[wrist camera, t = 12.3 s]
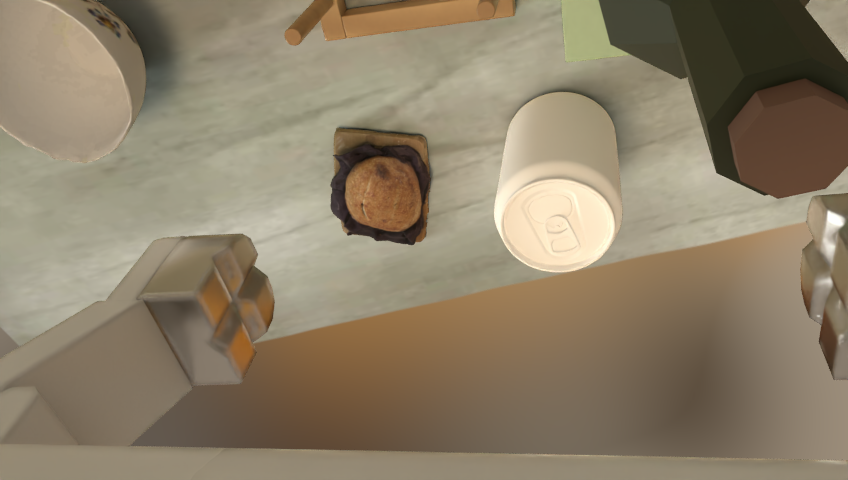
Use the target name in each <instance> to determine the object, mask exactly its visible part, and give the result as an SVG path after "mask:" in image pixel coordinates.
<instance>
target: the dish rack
mask: <svg viewBox="0 0 848 480" xmlns="http://www.w3.org/2000/svg"><path fill="white" fill-rule="evenodd" d="M515 10H516V3H515V0H408V1H402V2H395V3H388V4H381V5H374V6H367V7H360V8H353V9H347V10H346V6H345V2H344V0H314V1H313V3H312V4H311V5H310V6H309V7H308V8H307V9H306V10H305V11H304V12H303V13H302V14H301V15H300V16H299V17H298V18H297V19H296V21H295V22H294V23H293V24H292V25H291V26H290V27H289V28H288V29H287V30H286V31H285V39H286V41H287V42H288V43H289V44H291V45H298V44H300V43H301V42H302V40H303V39H304V38H305V37H306V36H307V35H308V33H309V32H310V31H311V30H312V29H313V28H314V26H315V25H316V24H317V23H318V22H319V21H321V25H322V29H323V32H324V36H325V39H326V41H330V40H337V39H345V38H352V37H360V36H367V35H375V34H382V33H390V32H397V31H405V30H412V29H420V28H427V27H435V26H442V25H450V24H457V23H465V22H472V21H480V20H489V19H495V18H503V17H510V16H514V15H515Z"/></svg>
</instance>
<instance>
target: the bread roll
mask: <svg viewBox="0 0 848 480" xmlns="http://www.w3.org/2000/svg"><path fill="white" fill-rule="evenodd" d="M427 150H428V149H427V143H426V140H425V138H424V137H423V136H422V137H421V136H420V135H418V136H416V135H414V136H410V135H408V136H407V135H406V134H398V135H397V134H394V133H392V134H391V133H379V132H375V131H369V130H364V131H363V130H354V129H344V128H343V129H341V128H337V129H336V132H335V136H334V155H333V156H334V169H335V176H334V178H333V179H332V182H331V187H332V194H331V210H332V212H333V214H334V215H336V216H337V218H339V219H340V220H341V224H342V228H343V231H344V232H345V233H347V235H348V236H349V235H352V234H354V235H364V236H370V237H372V238H374V239H375V240H376V241H387V240H388V241H392V242H396V243H401V244H408V245H414V243H415V242H421V241H422V240H423V239H424V238H425V235H426V230H425V229H426V226H427V222H426V219H428V218H427V213H428V212H429V208H428V203H427V202H428V197H427V196H428V192H430V190H429V189H430V183H429V182H430V180H431V178H430V174H429V164H428V158H427V157H428V153H427ZM428 190H429V191H428Z"/></svg>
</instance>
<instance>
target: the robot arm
mask: <svg viewBox="0 0 848 480" xmlns="http://www.w3.org/2000/svg"><path fill="white" fill-rule="evenodd" d="M806 223H807V225H808V227H809V230H810V232H811V234H812V236H813V240H812V241H811V242H810V243H809V244H808V245H807V246H806V247H805V248H804V249H803V250H802V258H801V268H800V273H801V290H802V295H803V299H804V303H805V306H806V309H807V311H808V315H809V317H810V318H811V319H813V320H814V321H816V322H817V323H819V324H820V325H821V331H820V338H819V344H820V346H821V349H822V351H823V354H824V356H825V358H826V361H827V363H828V366H829V369H830V371H831V374H832V376H833V379H834V380H848V193H843V194H831V195H819V196H813V197H812V199H811V202H810V204H809V208H808V214H807V221H806ZM257 256H258V253H257V251H256V249H255V247H254V245H253V243H252V241H251V239H250V238H249V237H247V236H245V235H243V234H223V235H201V236H188V237H185V236H180V237H167V238H161V239H158V240H154V241H153V242H152V243H151V245H150V246H149V247H148V248H147V250H146V251H145V252H144V253H143V255H142V256H141V257H140V258H139V260H138V261H137V262H136V263H135V265H134V266H133V267H132V268H131V270H130V271H129V272H128V273H127V275H126V276H125V277H124V278H123V280H122V281H121V282H120V283H119V285H118V286H117V287H116V288H115V289H114V291H113V292H112V293H111V294H110V296H109V297H108V298H107V299H106V301H97V302H95V303H93V304H92V305H90V306H88V307H87V308H85V309H83V310H82V311H80V312H78V313H76V314H75V315H73V316H71V317H70V318H68V319H66V320H65V321H63V322H61V323H59V324H58V325H56V326H54V327H53V328H51V329H49V330H47V331H46V332H44V333H42V334H41V335H39V336H37V337H36V338H34V339H32V340H30V341H29V342H27V343H25V344H24V345H22V346H20V347H18V348H17V349H15V350H13V351H12V352H10V353H8V354H7V355H5V356H3V357H2V358H0V480H848V460H801V459H800V460H799V459H794V460H793V459H750V458H705V457H704V458H703V457H702V458H701V457H657V456H611V455H566V454H564V455H563V454H516V453H515V454H514V453H462V452H409V451H406V452H405V451H354V450H300V449H250V448H249V449H248V448H247V449H246V448H198V447H148V446H145V447H144V446H130V445H131V444H132V443H133V442H134V441H135V440H136V439H137V438H139V437H140V435H142V434H143V433H144V432H145V431H146V430H147V429H148V428H150V426H152V425H153V424H154V423H155V422H156V421H157V420H158V419H159V418H161V417H162V416H163V415H164V414H165V413H166V412H167V411H168V410H169V409H171V408H172V407H173V405H175V404H176V403H177V402H178V401H179V400H180V399H182V398H183V397H184V396H185V395H186V394H187V393H188V392H189V391H190V390H191V389H192V388H193V387H192V386H193V385H221V384H241V383H242V380H243V379H244V377H245V375H246V373H247V371H248V369H249V367H250V364H251V363H252V361H253V359H254V357H255V355H256V350H255V347H254V345H253V342H254V341H256V340H257V339H258V338H260V337H261V336H262V335H264V334H265V333H266V332H267V330H268V328H269V326H270V324H271V321H272V319H273V311H274V303H275V302H274V296H273V290H272V286H271V284H270V282H269V279H268V277H267V276H266V275H265V274H264V273H263V272H261V271H260V270H259V269H258V268H256V267H255V266H254V265H255V262H256V259H257Z"/></svg>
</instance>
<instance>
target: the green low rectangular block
mask: <svg viewBox="0 0 848 480" xmlns="http://www.w3.org/2000/svg"><path fill="white" fill-rule="evenodd" d="M561 9H562V22H563V34H564V47H565V59H566V62H575V61H583V60H592V59H601V58H610V57H618V56H627V55H631V54H629V53H626V52H624V51H622V50H620V49H618V48H616V47H614V46H612V45H610V41H609V38H608V34H607V30H606V26H605V23H604V19H603V15H602V11H601V8H600V4H599V0H561Z"/></svg>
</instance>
